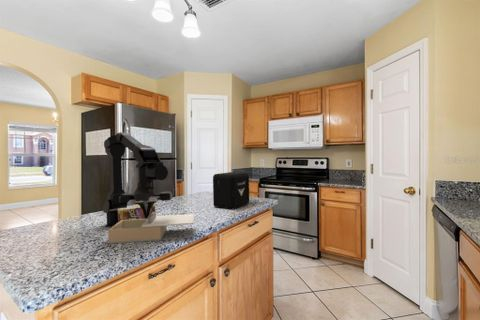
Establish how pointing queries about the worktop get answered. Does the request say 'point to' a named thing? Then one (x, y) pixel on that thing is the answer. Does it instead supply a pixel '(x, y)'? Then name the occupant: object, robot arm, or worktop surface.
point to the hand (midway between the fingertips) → (147, 218)
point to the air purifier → (230, 190)
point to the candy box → (132, 213)
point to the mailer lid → (168, 220)
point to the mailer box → (134, 232)
